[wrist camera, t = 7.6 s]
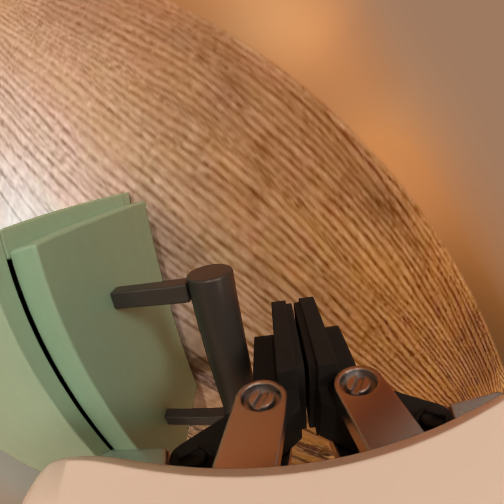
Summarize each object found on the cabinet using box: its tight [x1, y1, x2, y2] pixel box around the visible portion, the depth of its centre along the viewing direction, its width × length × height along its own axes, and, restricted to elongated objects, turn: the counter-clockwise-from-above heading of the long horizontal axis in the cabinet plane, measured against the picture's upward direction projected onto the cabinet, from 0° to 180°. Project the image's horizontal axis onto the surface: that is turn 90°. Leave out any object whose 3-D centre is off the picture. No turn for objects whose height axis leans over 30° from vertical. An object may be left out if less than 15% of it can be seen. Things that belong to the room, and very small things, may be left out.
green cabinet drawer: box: [7, 201, 253, 451], centre depth 10 cm, size 17×11×8 cm
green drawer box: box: [0, 192, 131, 472], centre depth 10 cm, size 14×13×10 cm
